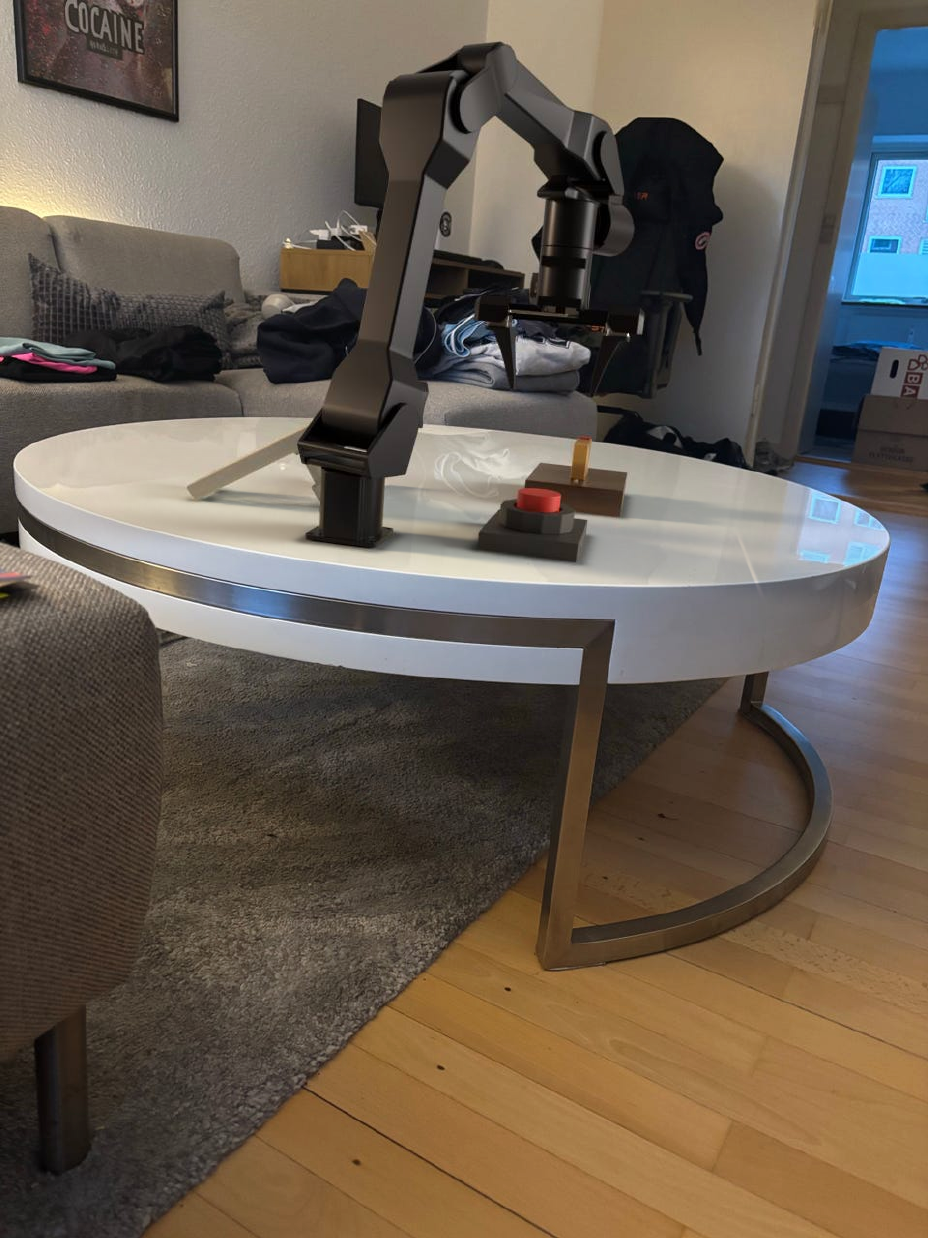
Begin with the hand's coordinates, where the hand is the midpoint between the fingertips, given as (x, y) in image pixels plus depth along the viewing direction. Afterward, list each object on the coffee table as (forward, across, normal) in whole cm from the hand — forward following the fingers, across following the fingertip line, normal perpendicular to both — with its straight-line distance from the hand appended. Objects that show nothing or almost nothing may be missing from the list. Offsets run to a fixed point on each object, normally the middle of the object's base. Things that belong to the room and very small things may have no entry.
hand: (551, 393), depth 106 cm
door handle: (+12, +26, +14) cm, 32 cm away
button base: (+12, -2, +24) cm, 27 cm away
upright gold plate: (+9, -4, 0) cm, 10 cm away
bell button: (+9, -2, +24) cm, 25 cm away
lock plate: (+12, -4, 0) cm, 13 cm away
